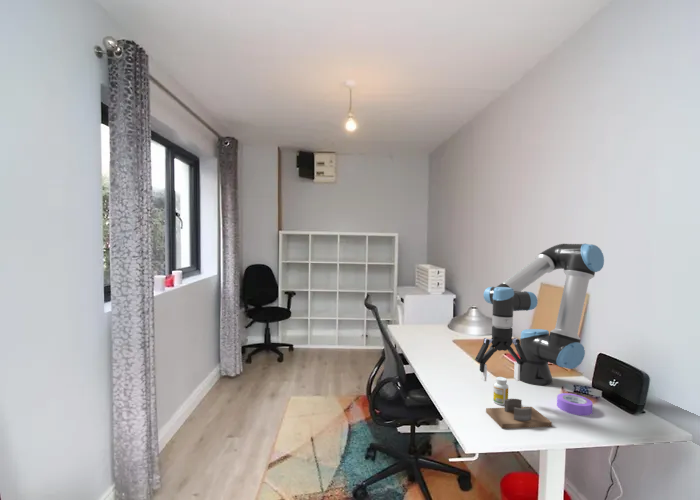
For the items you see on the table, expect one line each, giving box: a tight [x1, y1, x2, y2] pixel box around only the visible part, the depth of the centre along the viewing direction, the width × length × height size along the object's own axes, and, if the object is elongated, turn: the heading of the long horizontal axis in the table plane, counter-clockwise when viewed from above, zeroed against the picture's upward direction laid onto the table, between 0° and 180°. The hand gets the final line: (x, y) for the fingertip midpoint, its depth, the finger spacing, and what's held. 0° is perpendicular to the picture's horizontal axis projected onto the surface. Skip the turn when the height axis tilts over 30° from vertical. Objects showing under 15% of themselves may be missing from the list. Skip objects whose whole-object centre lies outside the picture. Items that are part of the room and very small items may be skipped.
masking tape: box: [556, 392, 594, 417], centre depth 143 cm, size 12×12×4 cm
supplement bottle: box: [493, 376, 509, 406], centre depth 147 cm, size 5×5×10 cm
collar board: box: [485, 398, 553, 429], centre depth 134 cm, size 18×12×6 cm, turn 95°
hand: (500, 380), depth 147 cm, fingers open, 13 cm apart
